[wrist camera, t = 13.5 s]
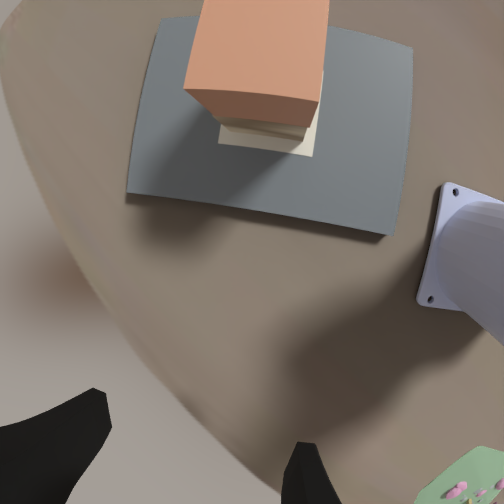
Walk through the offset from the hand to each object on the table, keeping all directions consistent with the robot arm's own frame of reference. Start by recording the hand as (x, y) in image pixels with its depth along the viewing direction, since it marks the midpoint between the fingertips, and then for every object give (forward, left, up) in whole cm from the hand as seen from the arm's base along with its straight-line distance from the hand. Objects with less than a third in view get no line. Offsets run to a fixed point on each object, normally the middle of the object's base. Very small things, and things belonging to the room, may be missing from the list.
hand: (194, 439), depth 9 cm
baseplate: (0, -13, -10) cm, 17 cm away
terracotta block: (0, -13, -5) cm, 14 cm away
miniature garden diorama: (-34, +24, -11) cm, 43 cm away
